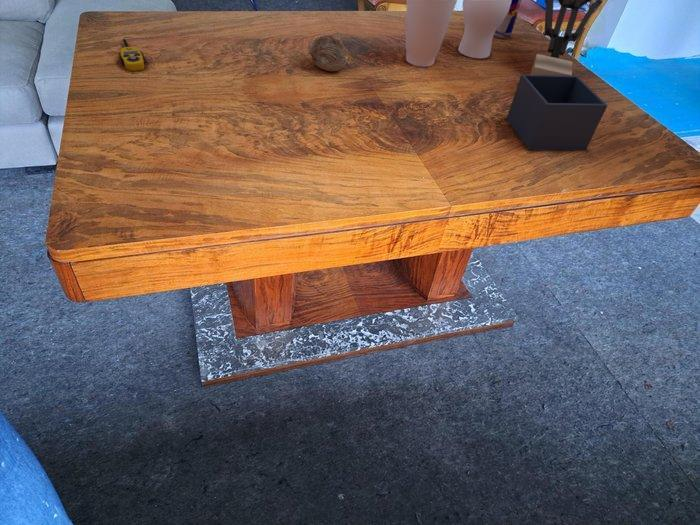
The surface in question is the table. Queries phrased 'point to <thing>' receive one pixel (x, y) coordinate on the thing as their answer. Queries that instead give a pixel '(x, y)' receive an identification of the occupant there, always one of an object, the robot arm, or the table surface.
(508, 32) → the beverage can
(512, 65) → the table surface
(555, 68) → the block
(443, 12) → the cup
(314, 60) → the seashell
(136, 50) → the yellow walkie talkie
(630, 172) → the table surface
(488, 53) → the cup
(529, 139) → the box
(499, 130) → the table surface
